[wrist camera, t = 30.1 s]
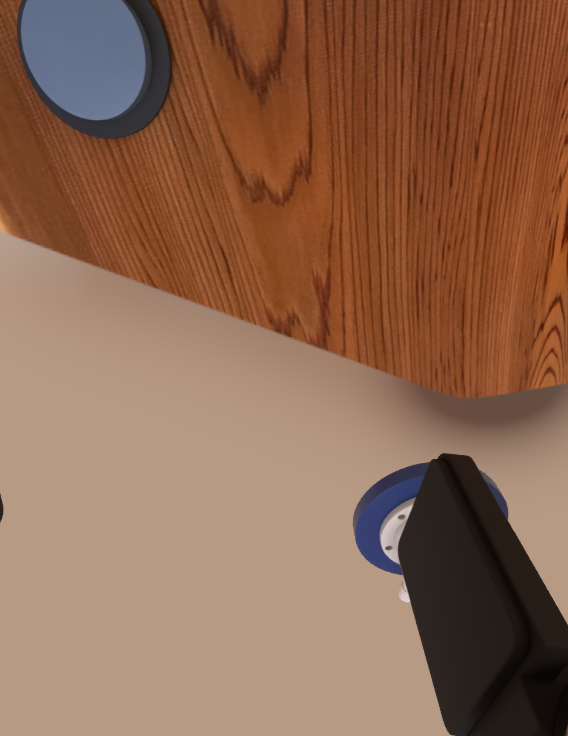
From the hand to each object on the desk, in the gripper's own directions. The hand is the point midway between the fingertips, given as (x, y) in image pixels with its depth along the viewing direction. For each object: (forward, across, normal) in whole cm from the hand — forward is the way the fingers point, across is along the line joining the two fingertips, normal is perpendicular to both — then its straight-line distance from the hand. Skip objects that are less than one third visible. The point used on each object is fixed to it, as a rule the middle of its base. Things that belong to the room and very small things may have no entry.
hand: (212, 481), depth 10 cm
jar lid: (+25, +11, -9) cm, 28 cm away
